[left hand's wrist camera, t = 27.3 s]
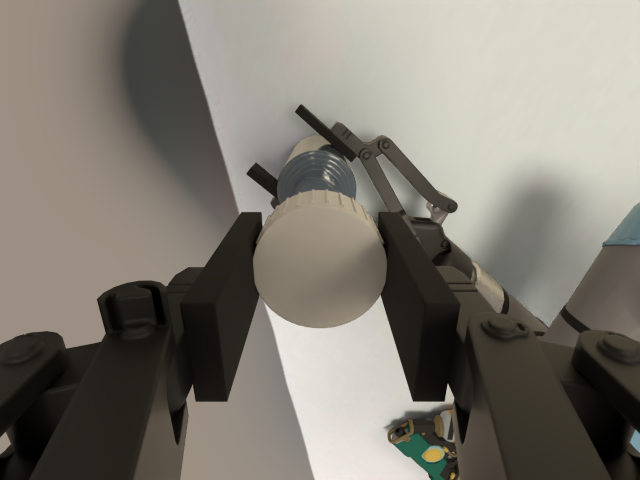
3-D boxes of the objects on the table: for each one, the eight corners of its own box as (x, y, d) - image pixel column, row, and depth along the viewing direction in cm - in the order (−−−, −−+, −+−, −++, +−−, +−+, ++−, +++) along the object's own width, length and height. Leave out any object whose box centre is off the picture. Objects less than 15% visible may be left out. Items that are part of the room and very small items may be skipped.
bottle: (356, 166, 40) (381, 210, 24) (314, 201, 42) (312, 265, 26) (320, 122, 39) (321, 138, 23) (278, 160, 40) (250, 201, 24)
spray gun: (503, 458, 58) (413, 480, 61) (481, 388, 51) (381, 416, 54) (516, 486, 54) (419, 508, 57) (494, 414, 48) (386, 443, 50)
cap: (241, 210, 14) (227, 230, 12) (360, 171, 13) (368, 185, 11) (284, 310, 15) (279, 343, 13) (392, 279, 15) (404, 309, 13)
